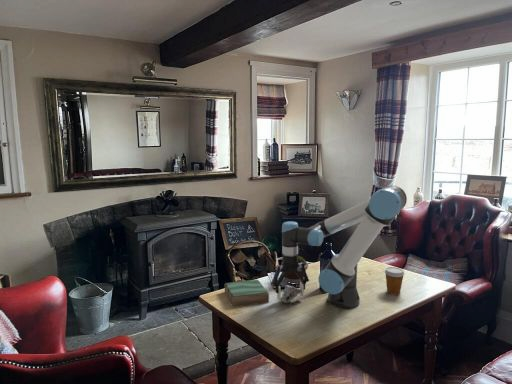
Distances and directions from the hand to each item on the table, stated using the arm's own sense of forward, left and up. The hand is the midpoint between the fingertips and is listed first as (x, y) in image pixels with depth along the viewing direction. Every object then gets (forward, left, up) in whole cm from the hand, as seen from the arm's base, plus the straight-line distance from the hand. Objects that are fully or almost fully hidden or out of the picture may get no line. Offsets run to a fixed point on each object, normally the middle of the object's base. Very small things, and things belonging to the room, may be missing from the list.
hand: (290, 297), depth 184 cm
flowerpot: (+23, -12, -2) cm, 26 cm away
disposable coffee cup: (-6, -55, -2) cm, 55 cm away
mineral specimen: (-1, 0, -1) cm, 1 cm away
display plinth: (+11, +19, -2) cm, 23 cm away
